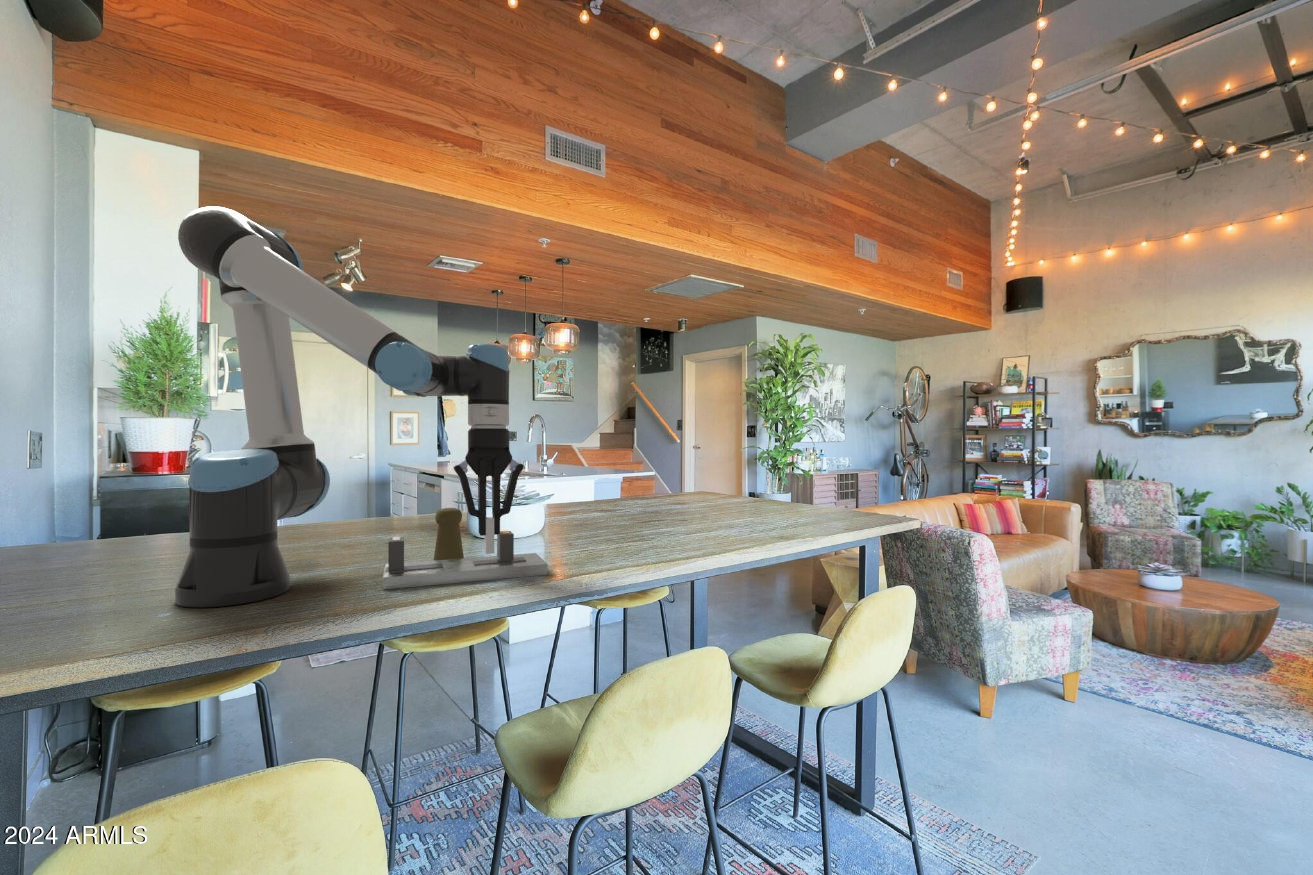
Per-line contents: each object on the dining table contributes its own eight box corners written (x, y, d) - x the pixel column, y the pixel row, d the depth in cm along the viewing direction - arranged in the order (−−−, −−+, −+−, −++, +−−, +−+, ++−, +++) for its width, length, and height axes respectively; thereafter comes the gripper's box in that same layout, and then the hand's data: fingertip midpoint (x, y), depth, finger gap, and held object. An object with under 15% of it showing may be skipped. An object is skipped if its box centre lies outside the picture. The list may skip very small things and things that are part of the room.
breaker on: (388, 570, 103) (388, 540, 103) (389, 565, 106) (389, 537, 106) (403, 569, 104) (404, 539, 104) (404, 564, 107) (404, 536, 107)
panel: (382, 589, 99) (382, 576, 99) (385, 575, 109) (385, 563, 109) (547, 574, 110) (547, 562, 110) (535, 562, 120) (535, 551, 120)
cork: (454, 565, 118) (454, 510, 118) (427, 564, 119) (427, 509, 119) (469, 559, 123) (469, 506, 123) (443, 557, 125) (443, 506, 125)
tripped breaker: (500, 561, 110) (500, 533, 110) (497, 557, 114) (497, 530, 114) (513, 560, 111) (513, 533, 111) (510, 556, 115) (510, 529, 115)
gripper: (453, 427, 105) (454, 559, 105) (527, 427, 110) (527, 553, 110) (451, 427, 112) (451, 551, 112) (520, 427, 117) (520, 546, 117)
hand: (489, 552), depth 111 cm, fingers closed
